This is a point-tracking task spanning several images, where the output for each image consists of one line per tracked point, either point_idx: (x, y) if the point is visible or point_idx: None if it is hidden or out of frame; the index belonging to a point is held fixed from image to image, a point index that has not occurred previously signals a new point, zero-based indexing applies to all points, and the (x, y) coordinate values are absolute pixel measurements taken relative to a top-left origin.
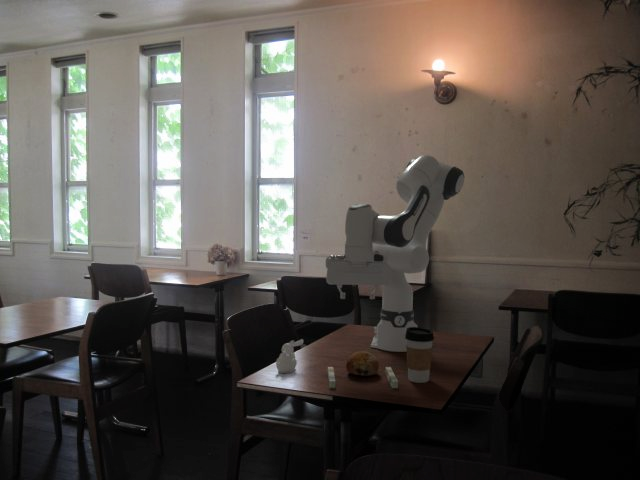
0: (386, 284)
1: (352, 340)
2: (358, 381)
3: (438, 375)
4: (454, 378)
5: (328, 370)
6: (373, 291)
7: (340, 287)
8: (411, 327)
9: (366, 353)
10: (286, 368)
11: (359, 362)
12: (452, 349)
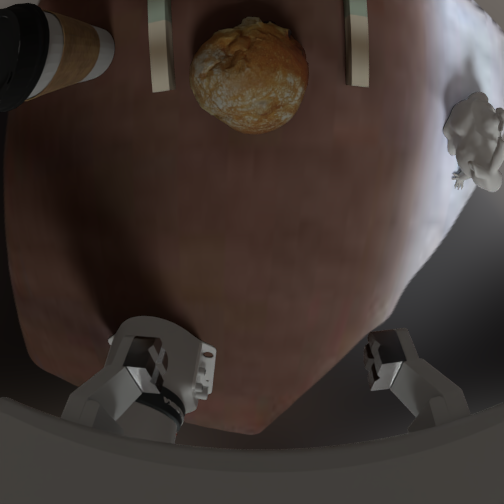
0: (4, 399)
1: (259, 374)
2: (267, 7)
3: (46, 107)
4: None
5: (368, 48)
6: (126, 394)
7: (441, 400)
8: (2, 87)
9: (231, 68)
10: (473, 98)
11: (263, 25)
12: (52, 311)
